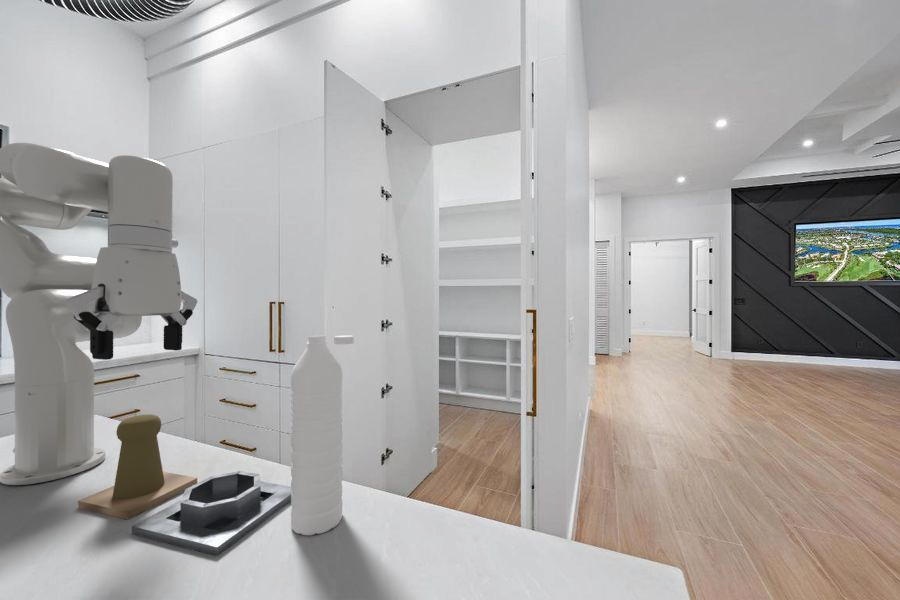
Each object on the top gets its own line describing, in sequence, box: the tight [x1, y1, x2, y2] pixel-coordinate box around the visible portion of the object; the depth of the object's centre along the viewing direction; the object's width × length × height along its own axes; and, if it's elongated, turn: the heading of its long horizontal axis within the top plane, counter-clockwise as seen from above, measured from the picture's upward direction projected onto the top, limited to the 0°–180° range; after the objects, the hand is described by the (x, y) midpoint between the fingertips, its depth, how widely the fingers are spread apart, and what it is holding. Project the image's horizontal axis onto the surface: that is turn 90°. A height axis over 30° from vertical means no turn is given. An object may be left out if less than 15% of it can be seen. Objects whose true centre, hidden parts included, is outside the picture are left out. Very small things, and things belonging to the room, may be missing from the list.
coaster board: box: [77, 471, 198, 520], centre depth 56 cm, size 10×10×1 cm
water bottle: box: [290, 334, 355, 536], centre depth 49 cm, size 9×6×25 cm
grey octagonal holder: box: [131, 470, 292, 557], centre depth 51 cm, size 14×14×4 cm
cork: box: [113, 413, 165, 500], centre depth 56 cm, size 6×6×11 cm
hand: (140, 354), depth 56 cm, fingers open, 9 cm apart
